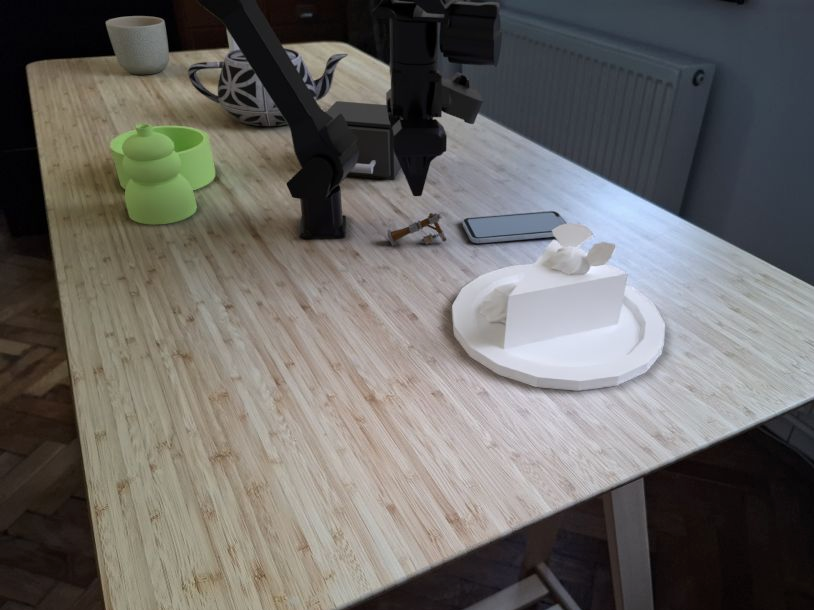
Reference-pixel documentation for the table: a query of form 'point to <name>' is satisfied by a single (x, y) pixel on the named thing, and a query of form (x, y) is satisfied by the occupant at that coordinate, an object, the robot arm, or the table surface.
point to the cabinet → (367, 117)
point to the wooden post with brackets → (415, 227)
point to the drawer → (372, 151)
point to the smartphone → (512, 226)
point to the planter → (139, 43)
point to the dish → (560, 318)
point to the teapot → (257, 87)
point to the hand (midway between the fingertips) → (414, 182)
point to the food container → (162, 171)
